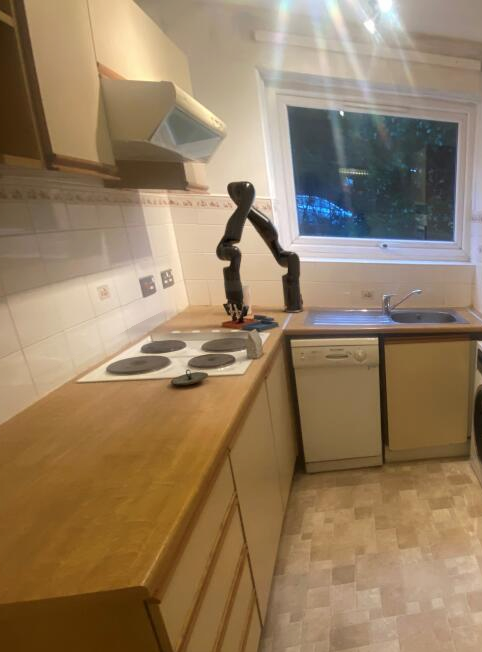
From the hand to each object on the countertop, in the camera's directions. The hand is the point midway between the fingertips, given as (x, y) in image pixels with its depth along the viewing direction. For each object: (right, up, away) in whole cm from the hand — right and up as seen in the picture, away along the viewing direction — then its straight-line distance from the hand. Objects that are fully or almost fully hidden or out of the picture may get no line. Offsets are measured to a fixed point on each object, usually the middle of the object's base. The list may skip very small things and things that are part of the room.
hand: (238, 324), depth 212 cm
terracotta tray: (0, 0, +2) cm, 2 cm away
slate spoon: (+5, +5, +15) cm, 16 cm away
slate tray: (+12, -2, -1) cm, 12 cm away
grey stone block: (+29, -18, -42) cm, 54 cm away
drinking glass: (-8, +9, +24) cm, 27 cm away
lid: (+22, -29, -72) cm, 81 cm away
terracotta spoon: (0, +1, +2) cm, 2 cm away
